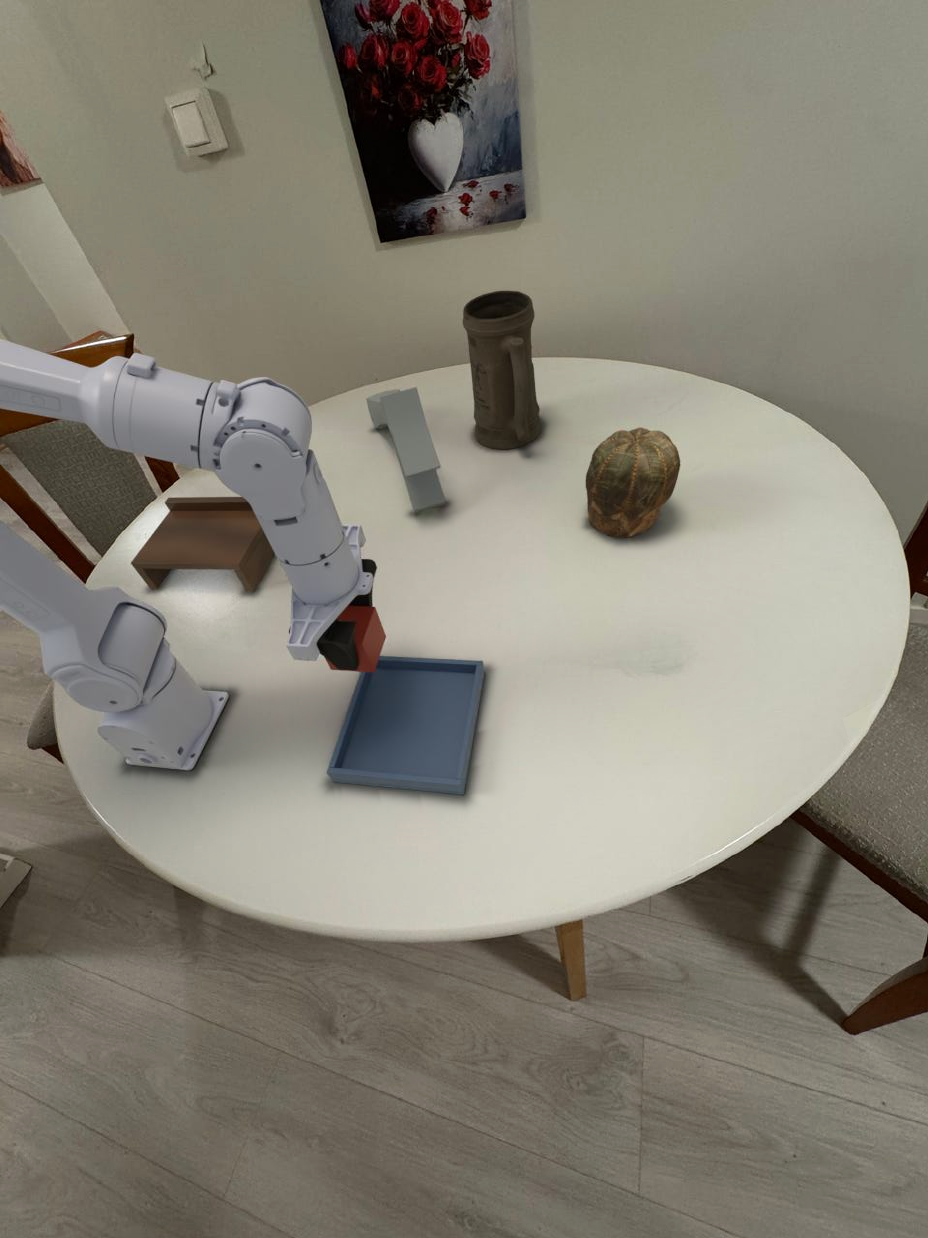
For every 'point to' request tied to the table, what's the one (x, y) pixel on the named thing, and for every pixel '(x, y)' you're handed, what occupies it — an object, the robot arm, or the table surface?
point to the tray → (410, 725)
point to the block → (364, 636)
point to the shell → (630, 481)
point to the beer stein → (502, 368)
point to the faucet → (410, 444)
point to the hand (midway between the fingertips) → (355, 646)
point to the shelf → (206, 541)
